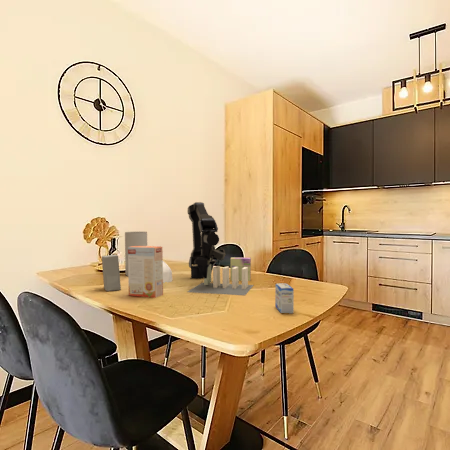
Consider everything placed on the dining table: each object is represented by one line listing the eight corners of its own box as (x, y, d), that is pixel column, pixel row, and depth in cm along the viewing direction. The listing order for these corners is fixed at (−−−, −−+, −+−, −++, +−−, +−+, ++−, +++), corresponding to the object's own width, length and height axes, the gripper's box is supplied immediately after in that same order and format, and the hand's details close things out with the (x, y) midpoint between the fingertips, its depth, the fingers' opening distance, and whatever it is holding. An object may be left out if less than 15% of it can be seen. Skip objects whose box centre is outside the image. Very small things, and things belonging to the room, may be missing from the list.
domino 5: (241, 288, 137) (241, 268, 137) (244, 286, 143) (244, 266, 142) (245, 289, 136) (245, 269, 136) (248, 286, 142) (247, 267, 142)
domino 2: (213, 287, 140) (213, 267, 140) (217, 284, 146) (216, 266, 146) (216, 287, 140) (216, 268, 140) (220, 284, 146) (220, 266, 146)
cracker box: (163, 295, 128) (163, 246, 128) (154, 299, 123) (154, 247, 122) (137, 292, 134) (137, 245, 134) (128, 295, 129) (127, 246, 128)
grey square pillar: (144, 276, 172) (143, 232, 171) (122, 276, 172) (121, 232, 172) (150, 272, 184) (149, 231, 184) (129, 272, 185) (128, 231, 184)
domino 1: (204, 284, 142) (203, 265, 141) (208, 282, 147) (208, 263, 147) (207, 284, 141) (207, 265, 141) (211, 282, 147) (211, 263, 147)
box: (250, 279, 161) (250, 257, 160) (250, 281, 155) (250, 258, 155) (231, 279, 162) (231, 257, 162) (230, 281, 156) (230, 258, 156)
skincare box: (121, 290, 139) (120, 255, 139) (104, 292, 136) (103, 256, 135) (117, 286, 147) (117, 253, 146) (101, 288, 143) (101, 254, 143)
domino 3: (222, 287, 139) (222, 268, 139) (226, 285, 145) (225, 266, 145) (226, 288, 139) (225, 268, 139) (229, 285, 144) (229, 266, 144)
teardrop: (153, 284, 152) (153, 260, 152) (149, 280, 162) (149, 257, 162) (175, 281, 157) (174, 258, 156) (169, 278, 167) (169, 256, 167)
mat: (186, 293, 132) (186, 291, 132) (202, 283, 151) (202, 282, 151) (245, 296, 125) (245, 295, 125) (253, 286, 144) (253, 285, 144)
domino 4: (232, 288, 138) (231, 268, 138) (235, 285, 144) (235, 266, 144) (235, 288, 138) (235, 268, 137) (238, 285, 143) (238, 266, 143)
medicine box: (275, 307, 110) (274, 283, 110) (287, 306, 110) (287, 282, 110) (280, 314, 102) (280, 288, 102) (294, 313, 102) (293, 287, 102)
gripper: (217, 246, 133) (218, 281, 133) (228, 242, 151) (229, 274, 151) (193, 245, 136) (194, 280, 136) (207, 242, 154) (207, 273, 154)
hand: (207, 277), depth 144 cm, fingers closed on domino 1, 6 cm apart
